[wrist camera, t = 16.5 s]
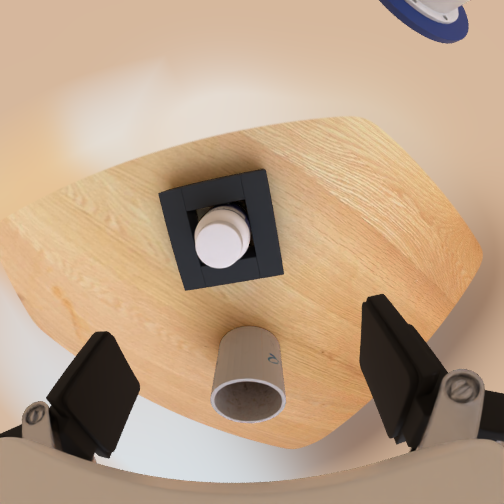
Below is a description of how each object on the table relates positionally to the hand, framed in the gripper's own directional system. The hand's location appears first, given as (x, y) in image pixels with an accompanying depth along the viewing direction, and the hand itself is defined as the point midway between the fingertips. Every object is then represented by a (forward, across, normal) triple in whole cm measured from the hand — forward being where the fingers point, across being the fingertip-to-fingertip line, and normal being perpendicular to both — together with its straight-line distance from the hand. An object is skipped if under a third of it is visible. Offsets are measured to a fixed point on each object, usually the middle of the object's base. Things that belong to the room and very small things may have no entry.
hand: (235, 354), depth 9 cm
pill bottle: (+23, +3, 0) cm, 23 cm away
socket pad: (+23, +3, 0) cm, 23 cm away
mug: (+23, +4, +20) cm, 31 cm away
